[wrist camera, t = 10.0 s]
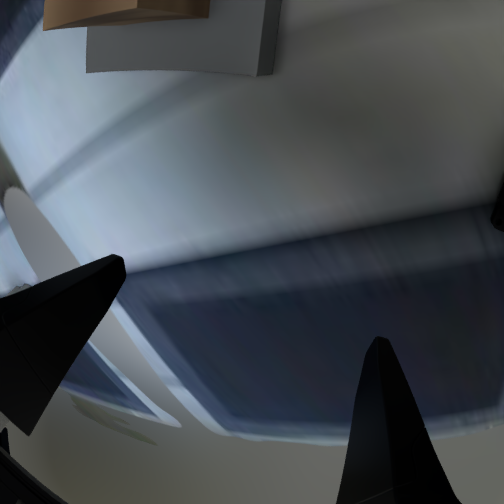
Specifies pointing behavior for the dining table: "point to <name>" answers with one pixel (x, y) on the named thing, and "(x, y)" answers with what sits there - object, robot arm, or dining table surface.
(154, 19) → the walnut cube
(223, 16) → the slate slab
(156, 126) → the dining table surface
